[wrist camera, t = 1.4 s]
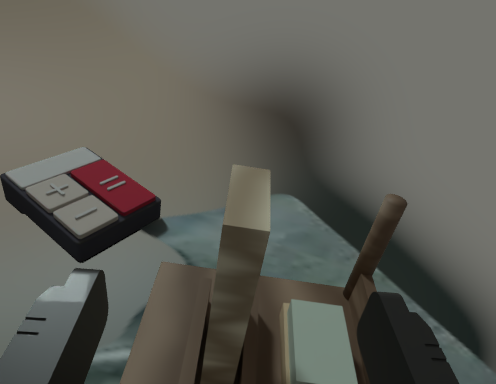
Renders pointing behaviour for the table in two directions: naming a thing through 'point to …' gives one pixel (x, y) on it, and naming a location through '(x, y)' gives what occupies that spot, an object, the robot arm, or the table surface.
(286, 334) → the offcut lower
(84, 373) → the robot arm
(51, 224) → the calculator
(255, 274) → the beige wooden block
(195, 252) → the table surface
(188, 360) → the rack
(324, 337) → the offcut upper
